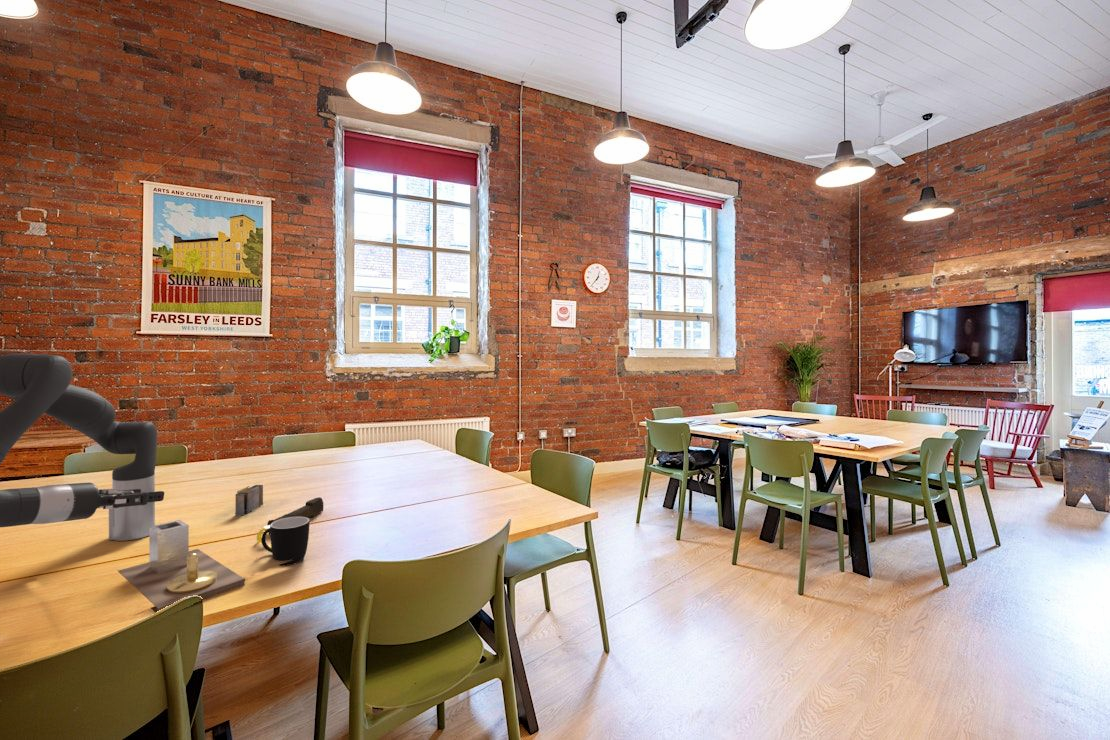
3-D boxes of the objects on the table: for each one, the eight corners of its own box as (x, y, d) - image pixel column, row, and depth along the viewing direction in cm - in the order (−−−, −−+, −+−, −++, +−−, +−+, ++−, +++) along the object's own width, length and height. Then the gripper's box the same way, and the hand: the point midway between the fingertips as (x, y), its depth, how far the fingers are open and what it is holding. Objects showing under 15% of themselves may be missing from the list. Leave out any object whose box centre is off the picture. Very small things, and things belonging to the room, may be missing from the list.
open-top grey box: (157, 573, 111) (157, 532, 111) (149, 567, 114) (149, 526, 114) (188, 564, 116) (188, 524, 116) (179, 558, 119) (179, 519, 119)
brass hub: (158, 596, 101) (158, 564, 101) (177, 577, 109) (177, 547, 109) (208, 590, 104) (208, 559, 104) (222, 572, 112) (222, 543, 112)
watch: (254, 549, 130) (254, 527, 129) (261, 545, 132) (261, 524, 132) (275, 550, 129) (275, 528, 129) (281, 546, 132) (281, 525, 132)
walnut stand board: (117, 576, 112) (117, 533, 112) (197, 554, 125) (197, 515, 125) (158, 615, 96) (157, 564, 96) (244, 585, 110) (244, 540, 109)
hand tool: (279, 536, 139) (279, 518, 139) (265, 534, 140) (266, 516, 140) (331, 512, 161) (331, 496, 161) (319, 511, 162) (319, 495, 162)
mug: (316, 553, 127) (316, 516, 127) (296, 568, 118) (296, 529, 118) (273, 552, 128) (273, 515, 128) (250, 566, 119) (250, 527, 119)
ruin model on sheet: (245, 517, 156) (245, 487, 155) (235, 517, 156) (235, 487, 155) (264, 506, 167) (264, 479, 167) (255, 506, 167) (255, 478, 167)
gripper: (84, 486, 94) (173, 480, 109) (44, 482, 99) (134, 476, 114) (78, 525, 93) (168, 513, 108) (37, 519, 98) (129, 508, 113)
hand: (151, 494), depth 111 cm, fingers open, 8 cm apart
